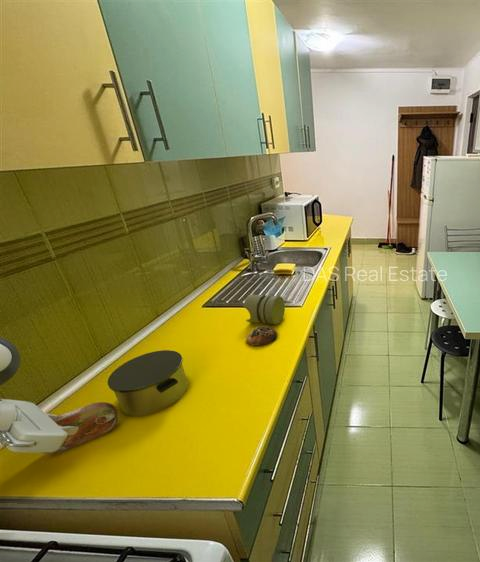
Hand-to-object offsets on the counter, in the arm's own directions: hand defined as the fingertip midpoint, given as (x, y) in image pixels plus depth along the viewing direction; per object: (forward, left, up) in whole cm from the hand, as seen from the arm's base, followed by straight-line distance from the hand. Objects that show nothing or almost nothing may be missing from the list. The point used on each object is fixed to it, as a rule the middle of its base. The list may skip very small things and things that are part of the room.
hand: (70, 425), depth 72 cm
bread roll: (+6, +52, -5) cm, 53 cm away
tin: (+1, +1, -5) cm, 5 cm away
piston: (-2, +62, -5) cm, 63 cm away
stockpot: (+1, +17, -5) cm, 18 cm away
